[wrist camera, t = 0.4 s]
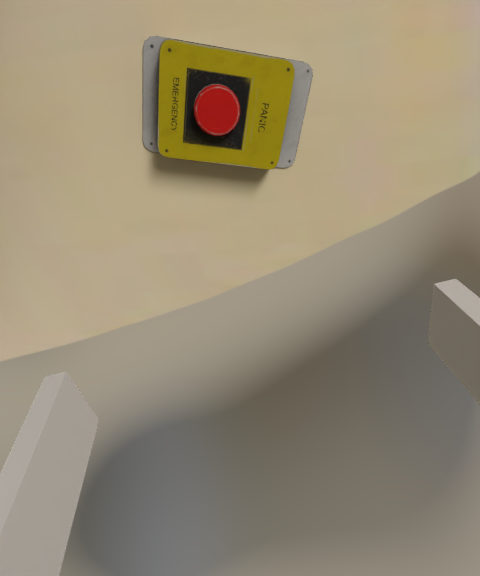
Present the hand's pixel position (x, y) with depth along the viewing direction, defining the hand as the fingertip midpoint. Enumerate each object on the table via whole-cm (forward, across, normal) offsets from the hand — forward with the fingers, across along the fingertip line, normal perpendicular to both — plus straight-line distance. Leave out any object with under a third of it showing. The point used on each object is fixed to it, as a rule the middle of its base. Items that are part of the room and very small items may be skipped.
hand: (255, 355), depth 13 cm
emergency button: (+28, +2, +5) cm, 29 cm away
